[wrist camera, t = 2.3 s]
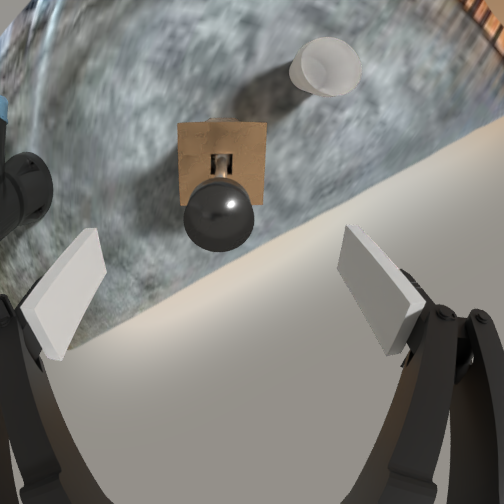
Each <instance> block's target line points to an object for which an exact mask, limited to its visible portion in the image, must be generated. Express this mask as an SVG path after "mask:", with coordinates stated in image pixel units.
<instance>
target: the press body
mask: <svg viewBox="0 0 504 504" xmlns="http://www.w3.org/2000/svg"><path fill="white" fill-rule="evenodd" d="M177 127H178V169H179V191H180V206H187V204H188V201H189V198H190V195H191V193H192V192H193V190H194V189H195V188H196V187H197V186H198V185H199V184H200V183H202V182H203V181H205V180H207V179H210V178H215V173H211V154H232V173H227V178H229V179H232V180H234V181H236V182H238V183H239V184H240V185H242V186H243V188H244V189H245V190H246V191H247V193H248V195H249V198H250V201H251V205H263V192H264V172H265V152H266V132H267V123H266V122H240V121H239V120H238V119H236V118H209V119H208V120H207V121H205V122H185V123H177Z"/></svg>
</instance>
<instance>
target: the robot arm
mask: <svg viewBox="0 0 504 504" xmlns="http://www.w3.org/2000/svg"><path fill="white" fill-rule="evenodd" d="M7 113H8V101H7V99H6V98H5V97H4V96H1V95H0V241H1V240H2V239H3V238H4V237H6V236H7V235H8V234H9V233H10V232H11V231H12V230H14V229H15V228H16V227H17V226H21V225H25V224H30V223H33V222H35V221H37V220H39V219H40V218H41V217H42V216H44V215H45V214H46V212H47V211H48V209H49V208H50V205H51V202H52V198H53V183H52V178H51V175H50V172H49V170H48V168H47V166H46V164H45V163H44V161H43V160H42V159H41V158H40V157H39V156H37V155H36V154H34V153H30V152H22V153H19V154H17V155H15V156H13V157H11V158H10V159H9V160H8V161H7V162H6V163H5V138H6V125H7V124H8V119H7ZM337 269H338V271H339V273H340V275H341V276H342V278H343V280H344V281H345V283H346V285H347V287H348V288H349V290H350V292H351V293H352V295H353V297H354V298H355V300H356V302H357V304H358V305H359V307H360V309H361V311H362V313H363V314H364V316H365V318H366V320H367V321H368V323H369V325H370V327H371V329H372V330H373V332H374V334H375V336H376V338H377V340H378V341H379V343H380V345H381V347H382V349H383V351H384V353H385V355H386V356H389V355H394V354H399V353H401V352H402V350H403V348H404V346H405V344H406V343H407V344H408V346H409V348H410V351H409V352H408V354H407V356H406V358H405V359H404V361H403V363H402V365H401V367H403V366H404V367H403V370H402V374H401V377H400V380H399V383H398V386H397V389H396V392H395V395H394V398H393V401H392V403H391V406H390V409H389V411H388V414H387V416H386V419H385V421H384V424H383V426H382V429H381V431H380V433H379V436H378V438H377V441H376V443H375V445H374V447H373V449H372V451H371V454H370V456H369V458H368V460H367V462H366V464H365V466H364V468H363V470H362V472H361V473H360V475H359V477H358V479H357V481H356V483H355V485H354V486H353V488H352V490H351V491H350V493H349V494H348V495H347V496H346V497H345V499H344V500H343V501H342V502H341V504H433V503H434V501H435V498H436V494H437V485H436V484H435V483H433V482H432V478H433V474H434V471H435V467H436V464H437V461H438V457H439V454H440V449H441V446H442V442H443V438H444V434H445V429H446V425H447V420H448V415H449V409H450V430H451V431H450V432H451V451H450V475H449V487H448V496H447V504H504V350H503V347H502V345H501V342H500V339H499V336H498V333H497V331H496V328H495V325H494V323H493V320H492V319H491V317H490V316H489V315H488V314H487V313H486V312H484V311H483V310H479V309H473V310H471V312H470V314H469V316H468V318H461V317H457V316H456V314H455V312H454V311H453V310H451V309H450V308H448V307H446V306H444V305H440V304H439V305H435V303H434V302H433V301H432V300H431V299H430V298H429V296H428V295H427V294H426V293H425V292H424V290H423V289H422V288H420V286H419V285H418V283H416V281H415V280H414V279H413V277H412V276H411V275H410V274H408V273H407V272H405V271H404V270H402V269H398V268H397V266H396V265H395V264H394V263H393V262H392V261H391V260H390V259H389V257H388V256H387V255H386V254H385V253H384V252H383V251H382V250H381V249H380V248H379V246H378V245H377V244H376V243H375V242H374V241H373V240H372V239H371V238H370V237H369V236H368V235H367V234H366V233H365V232H364V230H363V229H362V228H361V227H360V226H359V225H346V227H345V232H344V238H343V243H342V248H341V253H340V258H339V262H338V267H337ZM106 273H107V271H106V267H105V263H104V259H103V255H102V250H101V246H100V242H99V237H98V232H97V228H85V229H84V230H83V231H82V232H81V233H80V234H79V235H78V236H77V237H76V239H75V240H74V241H73V242H72V243H71V244H70V245H69V246H68V248H67V249H66V250H65V251H64V252H63V253H62V254H61V256H60V257H59V258H58V259H57V260H56V262H55V263H54V264H53V265H52V266H51V268H50V269H49V270H48V271H47V272H46V274H45V275H43V276H42V277H40V278H39V279H38V280H36V282H35V283H34V284H33V285H32V287H31V289H29V291H28V292H27V295H25V296H24V297H23V299H22V300H21V301H20V303H19V304H18V305H17V307H16V308H15V310H14V309H13V307H12V305H11V303H10V301H9V299H8V296H7V295H5V294H0V504H19V501H18V497H17V492H16V487H15V482H14V477H13V470H12V464H11V456H10V447H9V440H10V443H11V446H12V450H13V453H14V456H15V459H16V462H17V465H18V468H19V470H20V472H21V476H22V478H23V481H24V487H22V488H21V489H20V497H21V501H22V503H23V504H114V503H113V502H111V501H110V500H109V499H108V498H107V497H106V496H105V494H104V493H103V491H102V490H101V488H100V487H99V485H98V484H97V482H96V480H95V479H94V477H93V476H92V474H91V472H90V470H89V469H88V467H87V466H86V463H85V462H84V460H83V458H82V456H81V454H80V453H79V450H78V448H77V447H76V445H75V443H74V441H73V439H72V436H71V434H70V432H69V430H68V428H67V426H66V423H65V421H64V419H63V417H62V414H61V412H60V409H59V407H58V404H57V402H56V399H55V397H54V394H53V391H52V389H51V386H50V383H49V380H48V377H47V374H46V371H45V368H44V365H43V361H42V359H41V358H40V356H39V354H40V352H41V350H42V349H43V351H44V353H45V354H46V356H47V358H48V359H52V360H58V361H62V359H63V357H64V355H65V353H66V350H67V348H68V346H69V344H70V342H71V340H72V337H73V335H74V333H75V331H76V329H77V327H78V325H79V323H80V321H81V319H82V317H83V315H84V313H85V311H86V309H87V307H88V305H89V304H90V302H91V300H92V298H93V296H94V294H95V292H96V291H97V289H98V287H99V285H100V283H101V282H102V280H103V278H104V276H105V275H106ZM473 357H474V360H473V363H472V358H473Z"/></svg>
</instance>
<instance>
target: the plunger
mask: <svg viewBox="0 0 504 504" xmlns="http://www.w3.org/2000/svg"><path fill="white" fill-rule="evenodd" d="M211 173H215V178H210V179H207V180H205V181H203V182H202V183H200V184H199V185H198V186H197V187H196V188H195V189H194V190H193V192H192V193H191V195H190V198H189V201H188V204H187V206H186V209H185V213H184V226H185V230H186V232H187V234H188V236H189V238H190V239H191V240H192V241H193V242H194V243H195V244H196V245H198V246H199V247H201V248H203V249H205V250H208V251H212V252H226V251H230V250H233V249H235V248H237V247H239V246H240V245H242V244H243V243H244V242H245V241H246V240H247V239H248V237H249V236H250V234H251V232H252V230H253V226H254V213H253V209H252V205H251V201H250V198H249V195H248V193H247V191H246V190H245V189H244V188H243V186H242V185H240V184H239V183H238V182H236V181H234V180H232V179H229V178H227V173H232V154H211Z"/></svg>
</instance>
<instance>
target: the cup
mask: <svg viewBox="0 0 504 504" xmlns="http://www.w3.org/2000/svg"><path fill="white" fill-rule="evenodd" d="M361 75H362V66H361V62H360V59H359V57H358V55H357V53H356V52H355V51H354V49H353V48H352V47H351V46H349V45H348V44H347V43H345V42H344V41H342V40H340V39H337V38H333V37H322V38H318V39H315V40H313V41H311V42H308V43H306V44H305V45H304V46H302V47H301V48H300V50H299V51H298V52H297V54H296V56H295V58H294V60H293V62H292V64H291V66H290V68H289V76H290V79H291V81H292V83H293V84H294V85H295V86H296V87H297V88H299V89H301V90H303V91H306V92H309V93H312V94H315V95H318V96H322V97H335V96H339V95H344V94H347V93H349V92H351V91H352V90H353V89H355V87H356V86H357V85H358V83H359V81H360V79H361Z"/></svg>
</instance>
